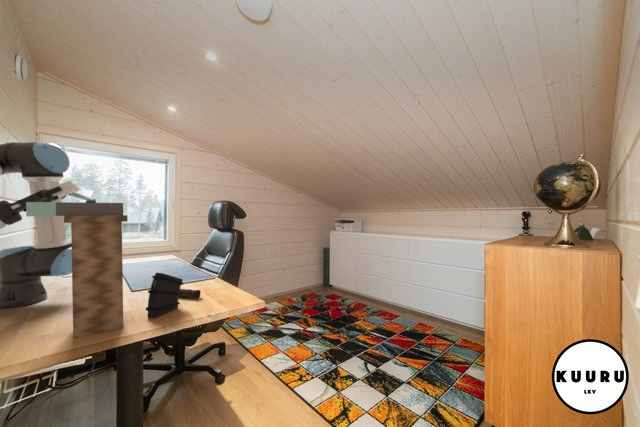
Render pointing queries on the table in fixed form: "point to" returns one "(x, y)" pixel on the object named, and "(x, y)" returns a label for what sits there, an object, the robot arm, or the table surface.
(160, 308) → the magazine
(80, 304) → the walnut stand
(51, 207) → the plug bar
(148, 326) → the table surface
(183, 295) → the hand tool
